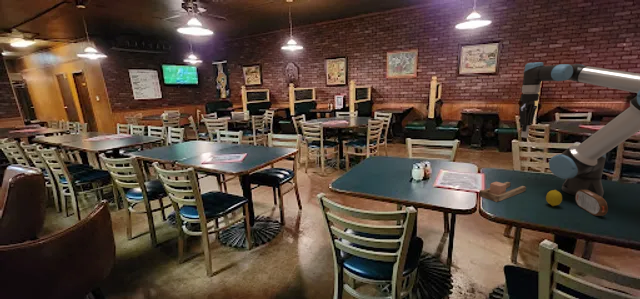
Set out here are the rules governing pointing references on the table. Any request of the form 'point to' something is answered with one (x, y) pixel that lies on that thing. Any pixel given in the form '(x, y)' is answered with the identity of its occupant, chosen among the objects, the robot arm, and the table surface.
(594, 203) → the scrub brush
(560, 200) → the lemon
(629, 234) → the table surface
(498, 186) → the block
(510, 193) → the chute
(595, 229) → the table surface
